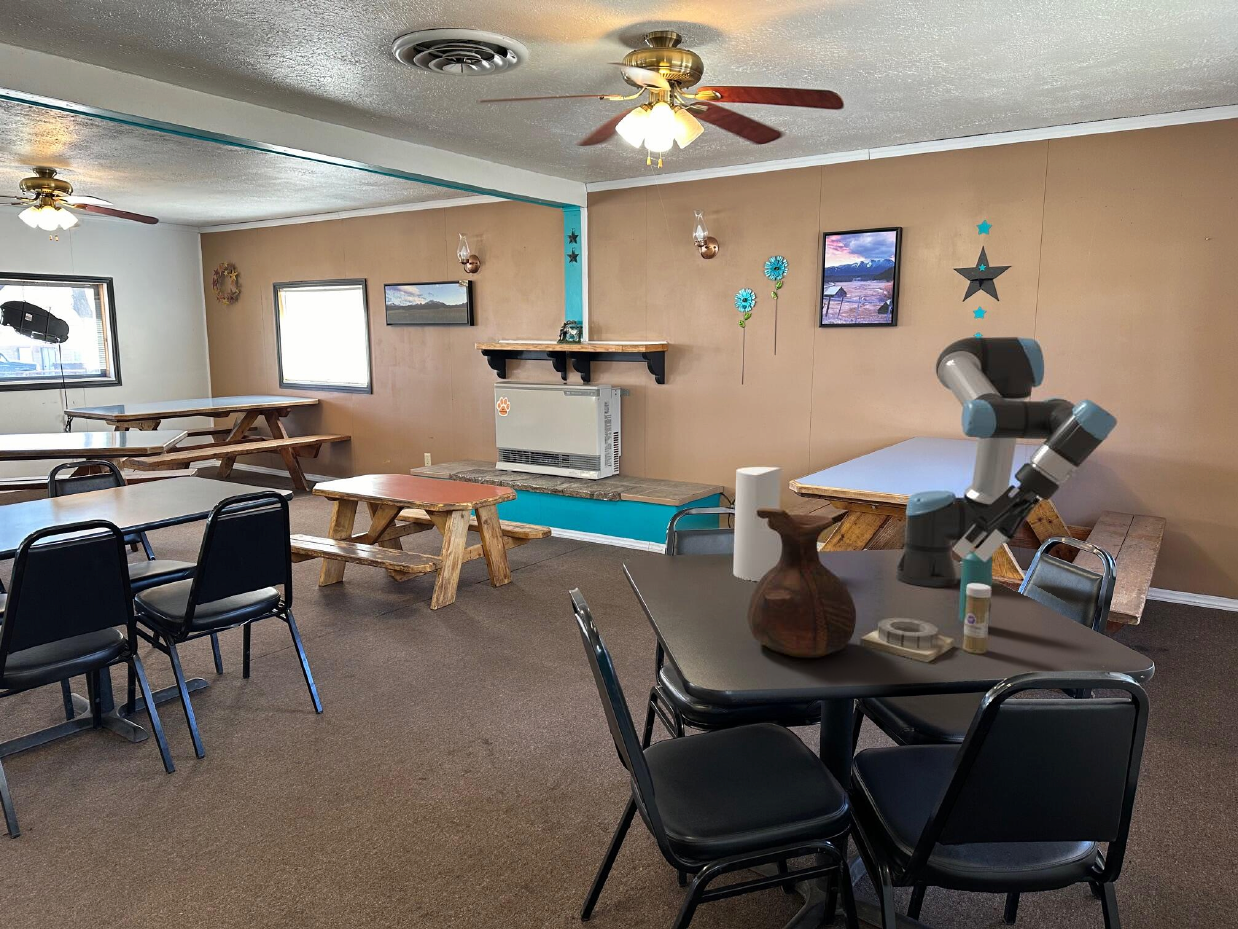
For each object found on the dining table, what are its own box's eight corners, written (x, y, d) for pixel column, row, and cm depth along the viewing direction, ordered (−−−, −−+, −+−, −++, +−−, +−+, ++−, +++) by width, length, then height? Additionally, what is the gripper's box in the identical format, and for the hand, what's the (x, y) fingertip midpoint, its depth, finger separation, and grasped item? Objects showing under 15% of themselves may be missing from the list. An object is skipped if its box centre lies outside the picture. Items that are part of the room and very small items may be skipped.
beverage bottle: (975, 633, 180) (981, 541, 177) (950, 624, 186) (955, 535, 183) (996, 629, 183) (1002, 539, 180) (970, 620, 189) (976, 533, 186)
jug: (734, 631, 180) (738, 492, 176) (833, 630, 181) (839, 492, 177) (758, 669, 158) (763, 512, 154) (870, 667, 160) (878, 511, 156)
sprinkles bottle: (959, 651, 169) (963, 585, 167) (966, 645, 173) (971, 581, 171) (982, 656, 166) (987, 590, 165) (990, 650, 170) (994, 585, 168)
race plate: (888, 630, 181) (889, 612, 181) (953, 646, 172) (955, 627, 171) (859, 645, 172) (860, 626, 171) (926, 662, 162) (928, 642, 162)
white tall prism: (722, 576, 224) (725, 472, 220) (748, 563, 239) (751, 465, 235) (784, 586, 215) (788, 478, 211) (807, 572, 230) (811, 470, 226)
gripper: (1044, 477, 149) (963, 565, 156) (1075, 492, 168) (1002, 571, 175) (1009, 451, 154) (932, 538, 160) (1044, 469, 173) (973, 547, 179)
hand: (968, 556), depth 168 cm, fingers open, 13 cm apart
